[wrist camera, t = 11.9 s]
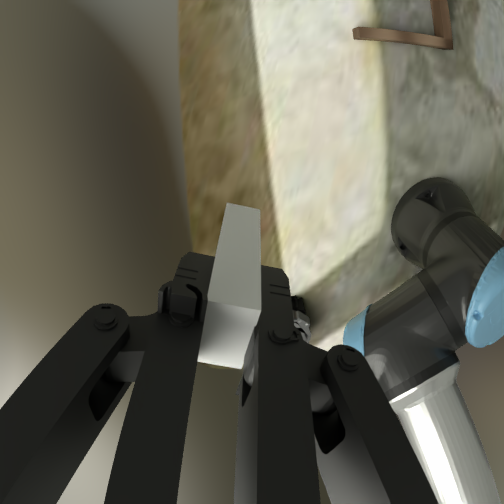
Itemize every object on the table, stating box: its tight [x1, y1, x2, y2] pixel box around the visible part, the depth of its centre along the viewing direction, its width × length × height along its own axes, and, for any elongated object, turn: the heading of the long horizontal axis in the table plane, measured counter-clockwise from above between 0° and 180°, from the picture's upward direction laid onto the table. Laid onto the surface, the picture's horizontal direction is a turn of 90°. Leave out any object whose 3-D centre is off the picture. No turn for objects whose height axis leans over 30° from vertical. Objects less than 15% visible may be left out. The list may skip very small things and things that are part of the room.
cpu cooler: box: [291, 295, 311, 343], centre depth 55 cm, size 10×6×10 cm
